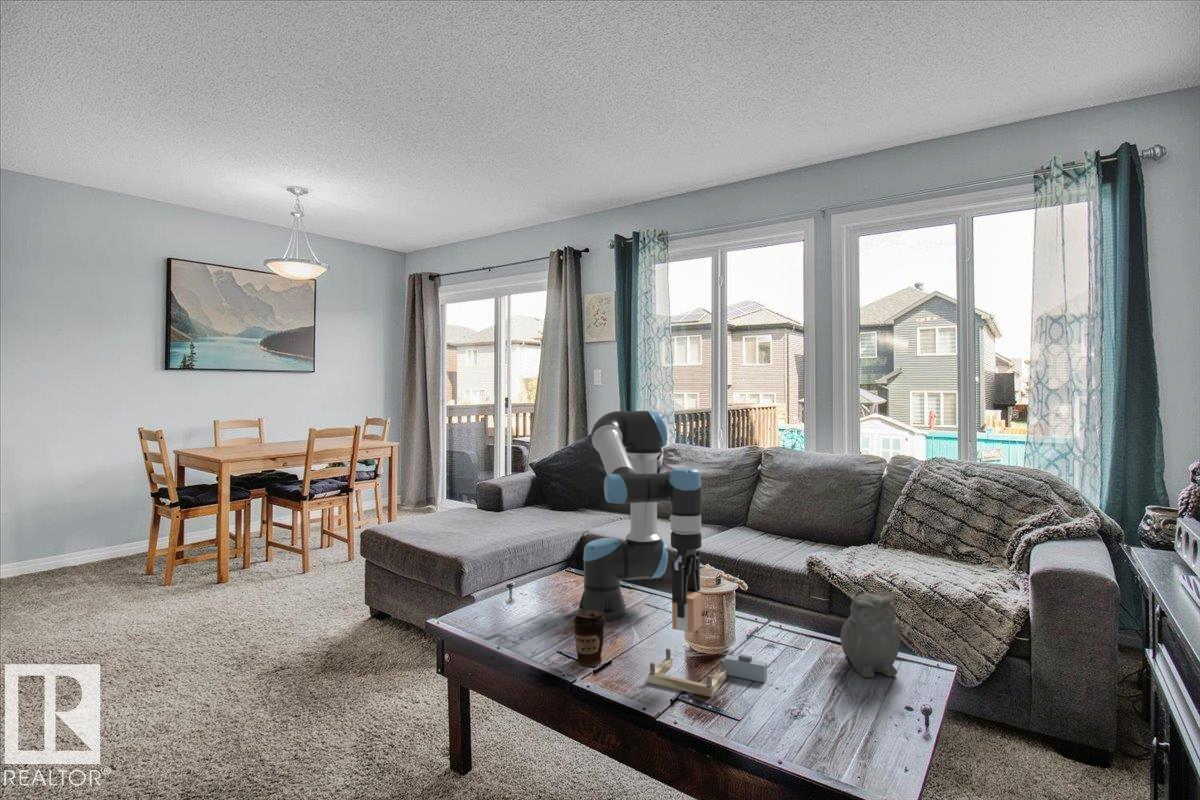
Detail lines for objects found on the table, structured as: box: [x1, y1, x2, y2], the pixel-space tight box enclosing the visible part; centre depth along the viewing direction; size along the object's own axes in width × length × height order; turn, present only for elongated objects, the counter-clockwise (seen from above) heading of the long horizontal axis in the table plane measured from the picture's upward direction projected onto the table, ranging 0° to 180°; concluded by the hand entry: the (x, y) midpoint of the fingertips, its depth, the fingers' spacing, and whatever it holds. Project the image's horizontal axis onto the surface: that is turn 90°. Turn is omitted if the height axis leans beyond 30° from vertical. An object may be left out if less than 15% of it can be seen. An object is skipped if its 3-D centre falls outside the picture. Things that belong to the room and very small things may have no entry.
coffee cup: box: [573, 610, 606, 667], centre depth 160 cm, size 9×8×13 cm
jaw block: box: [671, 591, 703, 633], centre depth 149 cm, size 6×6×8 cm
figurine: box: [839, 592, 902, 678], centre depth 156 cm, size 14×16×20 cm
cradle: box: [647, 648, 728, 698], centre depth 149 cm, size 12×16×4 cm
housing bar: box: [723, 654, 768, 683], centre depth 151 cm, size 2×10×5 cm, turn 61°
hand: (687, 625), depth 149 cm, fingers closed on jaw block, 5 cm apart
